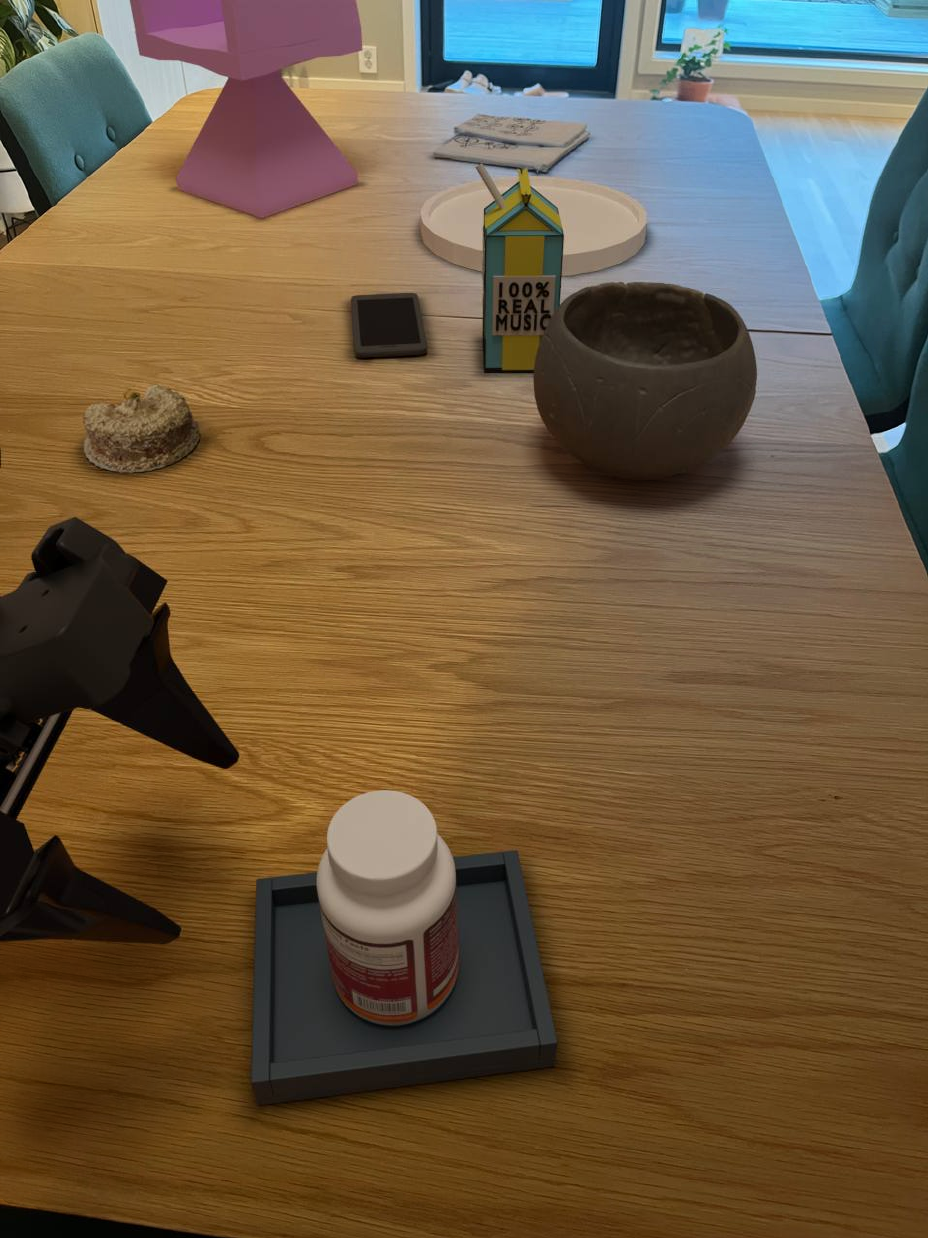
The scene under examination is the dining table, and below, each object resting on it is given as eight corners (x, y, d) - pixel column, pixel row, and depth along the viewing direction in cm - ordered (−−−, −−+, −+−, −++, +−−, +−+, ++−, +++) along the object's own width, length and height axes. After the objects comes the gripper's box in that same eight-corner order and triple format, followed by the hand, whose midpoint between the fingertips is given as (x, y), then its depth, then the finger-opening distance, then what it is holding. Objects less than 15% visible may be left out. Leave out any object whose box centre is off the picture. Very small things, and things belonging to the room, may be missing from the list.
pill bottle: (420, 896, 53) (412, 754, 46) (482, 990, 49) (485, 851, 42) (311, 951, 51) (285, 811, 43) (367, 1055, 47) (349, 920, 39)
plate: (588, 295, 113) (589, 273, 111) (377, 248, 123) (376, 227, 122) (678, 217, 131) (681, 197, 130) (488, 182, 142) (488, 163, 140)
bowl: (691, 395, 95) (712, 262, 87) (775, 501, 82) (810, 356, 74) (507, 415, 93) (511, 280, 84) (563, 529, 79) (575, 381, 71)
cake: (224, 447, 90) (216, 394, 86) (123, 493, 84) (110, 439, 81) (161, 399, 94) (151, 347, 91) (62, 440, 89) (47, 387, 85)
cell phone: (417, 297, 112) (417, 291, 111) (428, 355, 101) (428, 348, 101) (350, 301, 111) (350, 294, 111) (354, 359, 101) (354, 352, 100)
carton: (474, 339, 104) (474, 153, 93) (550, 339, 104) (560, 152, 93) (475, 373, 99) (476, 179, 87) (555, 372, 99) (567, 179, 87)
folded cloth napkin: (591, 137, 158) (592, 122, 156) (545, 175, 144) (546, 159, 142) (478, 123, 164) (479, 108, 162) (424, 158, 150) (423, 142, 148)
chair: (164, 189, 140) (115, -73, 120) (274, 155, 151) (245, -90, 132) (261, 222, 130) (224, -58, 110) (370, 183, 141) (354, -77, 122)
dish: (257, 1106, 46) (250, 1082, 44) (262, 904, 54) (256, 878, 52) (554, 1067, 47) (557, 1042, 46) (516, 875, 55) (517, 849, 54)
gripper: (-199, 727, 27) (270, 982, 33) (70, 385, 41) (362, 611, 47) (-330, 883, 32) (92, 1074, 39) (-54, 536, 46) (222, 719, 53)
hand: (206, 843), depth 44 cm, fingers open, 9 cm apart
